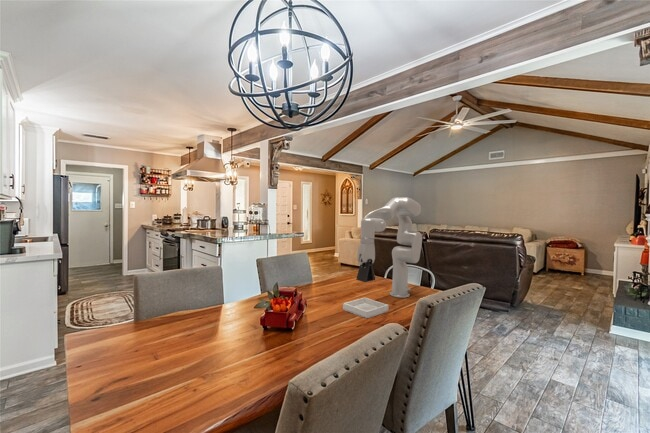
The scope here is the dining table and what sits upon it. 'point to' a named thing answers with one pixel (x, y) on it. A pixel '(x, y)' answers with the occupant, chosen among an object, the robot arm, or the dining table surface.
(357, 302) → the tray
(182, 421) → the dining table surface
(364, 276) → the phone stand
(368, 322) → the dining table surface
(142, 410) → the dining table surface
